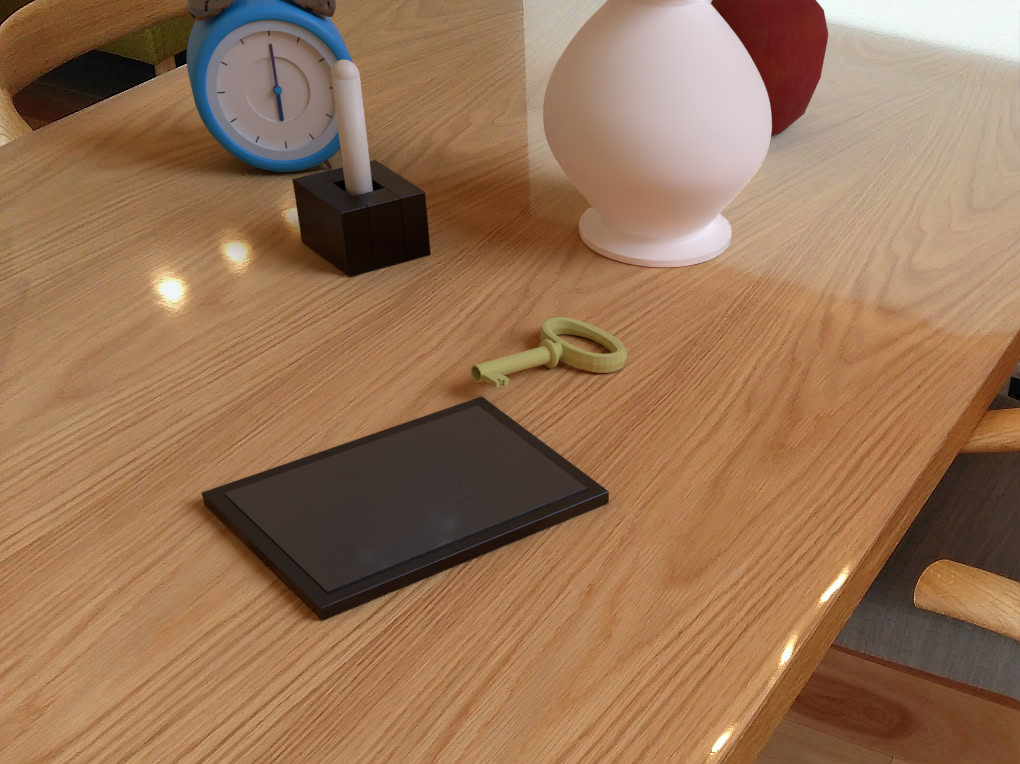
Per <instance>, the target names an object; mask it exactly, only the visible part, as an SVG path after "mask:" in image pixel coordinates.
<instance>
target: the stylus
mask: <svg viewBox="0 0 1020 764" xmlns="http://www.w3.org/2000/svg"><path fill="white" fill-rule="evenodd" d="M331 77H332V85H333V93H334V101H335V109H336V117H337V125H338V133H339V140H340V148H341V149H340V155H341V163H342V164H341V165H342V167H343V172H344V180H345V188H346V192H347V193H348V194H350V195H351V196H352V197H353V196H355V195H359V194H363V193H367V192H371V191H373V187H372V178H371V169H370V161H371V160H370V154H369V153H370V152H369V143H368V135H367V126H366V118H365V116H366V115H365V109H364V100H363V91H362V82H361V73H360V70H359V68H358V66H357V65H356V64H355V63H354V62H353V63H352V62H351V61H349V60H339V61H337V62H336V63H335V64H334V65H333V67H332V70H331Z"/></svg>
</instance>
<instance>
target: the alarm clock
mask: <svg viewBox="0 0 1020 764" xmlns="http://www.w3.org/2000/svg"><path fill="white" fill-rule="evenodd" d="M185 1H186V7H187V11H188V13H189V14H190V16H191V18H192V19H193V20H194V21H195V22H194V23H193V26H192V28H191V30H190V34H189V38H188V39H187V40H188V41H187V46H186V68H187V74H188V79H189V83H190V88H191V92H192V97H193V102H194V105H195V108H196V111H197V113H198V115H199V118H200V119H201V121H202V123H203V125H204V127H205V128H206V130H207V131H208V132H209V134H210V135H211V136H212V137H213V139H214V140H215V142H217V143H218V144H219V145H220V146H221V147H222V148H223V149H224V150H225V151H227V153H229V154H230V155H232V156H233V157H234V158H236V159H238V160H239V161H241V162H243V163H245V164H246V170H245V174H247V176H249V175H250V173H251V172H252V170H253V169H254V168H257V169H260V170H264V171H269V172H275V173H294V172H301V171H305V170H309V169H313V168H315V167H317V166H319V165H321V164H325V166H326V167H327V168H328V169H329V170H333V166H332V164H331V163H330V160H329V159H331V158H332V157H333V156H335V155H336V154H337V153H338V152H339V151H341V148H340V140H339V133H338V125H337V117H336V109H335V101H334V93H333V85H332V77H331V70H332V67H333V65H334V64H335V63H336V62H337V61H339V60H349V61H351V62H352V63H354V61H353V59H352V57H351V55H350V52H349V49H348V47H347V45H346V43H345V41H344V39H343V36H342V34H341V32H340V31H339V29H338V28H337V26H336V24H335V23H334V22H333V20H332V19H331V18H332V17H334V15H335V13H336V8H337V0H185Z"/></svg>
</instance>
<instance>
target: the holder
mask: <svg viewBox="0 0 1020 764" xmlns="http://www.w3.org/2000/svg"><path fill="white" fill-rule="evenodd" d="M370 169H371V178H372V187H373V191H371V192H367V193H363V194H359V195H355V196H353V197H352V196H351V195H350V194H348V193H347V192H346V188H345V180H344V172H343V166H342V167H338V168H334V169H333V168H332V169H329V170H325V171H321V172H316V173H311V174H308V175H303V176H299V177H293V178H292V179H291V181H292V187H293V193H294V198H295V205H296V206H295V207H296V212H297V219H298V226H299V232H300V233H299V234H300V239H301V243H303V244H304V245H305V246H307V247H308V248H309V249H310V250H311V251H313V252H314V253H316V254H317V255H319V256H320V257H321V258H323V259H324V260H325V261H327V262H328V263H330V264H331V265H332V266H333V267H335V268H337V269H338V270H339V271H340V272H342V273H343V274H344V275H346V276H347V277H349V278H351V277H355V276H358V275H361V274H366V273H369V272H373V271H377V270H380V269H383V268H387V267H391V266H395V265H398V264H401V263H402V264H403V263H404V262H409V261H413V260H417V259H420V258H424V257H427V256H430V255H432V254H431V241H430V231H429V229H430V228H429V219H428V207H427V198H426V197H427V196H426V191H424V190H423V189H421V188H420V187H419V186H418V185H415V184H414V183H412V182H411V181H409V180H408V179H407V178H404V177H403V176H402V175H400V174H399V173H397V172H396V171H394V170H392V169H391V168H389V167H387V166H386V165H384V164H383V163H382V162H380V161H378V160H377V159H372V160H370Z"/></svg>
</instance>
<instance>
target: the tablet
mask: <svg viewBox="0 0 1020 764" xmlns="http://www.w3.org/2000/svg"><path fill="white" fill-rule="evenodd" d="M201 497H202V501H203V505H204V506H205V507H206V508H207V509H208V510H209V511H210V512H211V513H212V514H213V515H214V516H215V517H216V518H217V519H218V520H219V521H220V522H222V524H223V525H225V526H226V527H227V529H229V530H230V532H232V534H233V535H235V536H236V537H237V539H239V540H240V541H241V542H242V544H244V545H245V547H247V548H248V549H249V551H251V552H252V553H253V554H254V555H255V556H256V557H257V558H258V559H259V561H261V562H262V563H263V564H264V565H265V566H266V567H267V568H268V569H269V570H270V571H271V572H272V573H273V574H274V575H276V577H278V579H279V580H281V581H282V582H283V583H284V584H285V586H287V587H288V588H289V589H290V591H292V593H294V594H295V595H296V596H297V597H298V598H299V599H300V600H301V601H302V602H303V603H304V604H305V605H306V606H307V607H308V608H309V609H310V610H311V611H312V612H313V613H314V614H315V615H316V616H317V617H318V618H319V619H320V620H321V621H325V620H327V619H330V618H332V617H335V616H337V615H340V614H342V613H345V612H347V611H350V610H352V609H354V608H357V607H359V606H361V605H364V604H366V603H368V602H371V601H373V600H374V601H375V600H376V599H379V598H381V597H383V596H385V595H388V594H391V593H393V592H395V591H398V590H400V589H403V588H405V587H408V586H410V585H413V584H415V583H418V582H420V581H422V580H425V579H427V578H429V577H432V576H434V575H437V574H440V573H442V572H445V571H447V570H449V569H451V568H454V567H456V566H459V565H461V564H464V563H466V562H468V561H472V560H474V559H476V558H478V557H481V556H483V555H485V554H488V553H490V552H493V551H495V550H497V549H500V548H503V547H505V546H507V545H510V544H513V543H515V542H517V541H519V540H523V539H525V538H528V537H529V536H532V535H534V534H537V533H539V532H542V531H544V530H547V529H549V528H551V527H553V526H556V525H558V524H562V523H563V522H565V521H569V520H570V519H573V518H576V517H579V516H580V515H583V514H585V513H588V512H590V511H593V510H595V509H597V508H599V507H602V506H605V505H607V504H609V503H610V491H609V490H608V489H606V488H605V487H604V486H602V485H601V484H600V483H598V482H597V481H596V480H595V479H594V478H592V477H591V476H589V475H588V474H586V473H585V472H584V471H582V470H581V469H580V468H579V467H577V465H574V463H572V462H570V461H569V460H568V459H567V458H565V457H564V456H562V455H561V454H559V452H557V451H556V450H555V449H553V448H552V447H551V446H549V445H548V444H546V442H544V441H542V440H541V439H540V438H539V437H537V436H536V435H535V434H533V433H532V432H530V431H529V430H528V429H527V428H525V427H524V426H523V425H521V424H520V423H518V422H517V421H515V420H514V419H513V418H512V417H510V416H509V415H508V414H506V413H505V412H504V411H503V410H501V409H499V408H498V406H496V405H494V404H493V403H492V402H490V401H489V400H487V398H485V397H484V396H479V397H476V398H473V399H470V400H468V401H464V402H461V403H459V404H455V405H452V406H450V407H447V408H444V409H441V410H438V411H435V412H433V413H432V412H431V413H429V414H427V415H424V416H420V417H418V418H415V419H412V420H409V421H405V422H403V423H400V424H397V425H394V426H391V427H388V428H385V429H383V430H380V431H377V432H374V433H371V434H368V435H364V436H362V437H360V438H357V439H353V440H351V441H347V442H345V443H342V444H339V445H336V446H333V447H330V448H327V449H324V450H322V451H319V452H315V453H313V454H309V455H307V456H304V457H301V458H297V459H295V460H292V461H290V462H287V463H284V464H280V465H277V466H274V467H272V468H269V469H266V470H262V471H260V472H257V473H254V474H252V475H248V476H246V477H243V478H240V479H237V480H234V481H232V482H227V483H225V484H223V485H219V486H216V487H213V488H210V489H207V490H205V491H201Z"/></svg>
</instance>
